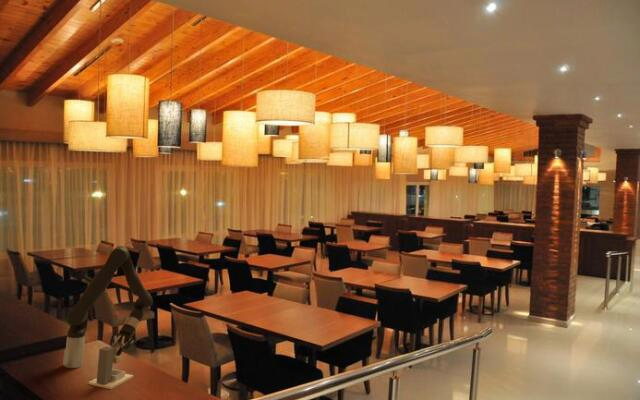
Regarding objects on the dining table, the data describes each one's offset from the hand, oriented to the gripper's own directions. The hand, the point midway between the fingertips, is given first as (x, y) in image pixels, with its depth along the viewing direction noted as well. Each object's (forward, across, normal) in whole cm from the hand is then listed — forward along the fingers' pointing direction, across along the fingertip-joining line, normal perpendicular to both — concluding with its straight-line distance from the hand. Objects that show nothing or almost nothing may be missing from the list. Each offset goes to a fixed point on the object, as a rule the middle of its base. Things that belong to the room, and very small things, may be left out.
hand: (113, 354), depth 261 cm
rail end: (+2, 0, +5) cm, 5 cm away
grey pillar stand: (+10, 0, +10) cm, 14 cm away
